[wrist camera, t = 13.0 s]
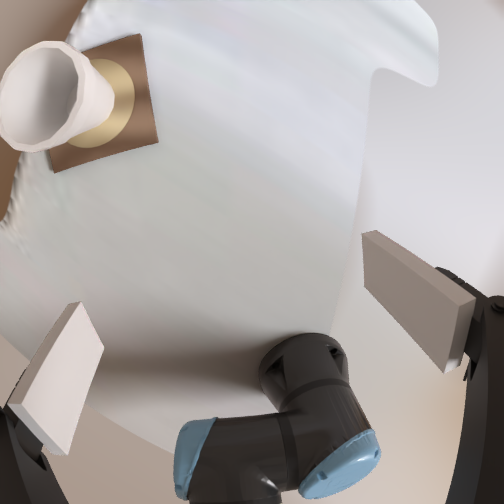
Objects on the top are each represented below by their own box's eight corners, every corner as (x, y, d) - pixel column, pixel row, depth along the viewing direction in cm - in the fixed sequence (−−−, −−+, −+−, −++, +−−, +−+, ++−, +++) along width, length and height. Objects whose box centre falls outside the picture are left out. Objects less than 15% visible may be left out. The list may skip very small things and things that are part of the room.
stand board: (158, 142, 34) (156, 143, 32) (58, 172, 33) (53, 174, 31) (141, 36, 28) (139, 32, 27) (42, 72, 27) (36, 71, 26)
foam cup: (49, 134, 29) (-14, 144, 18) (68, 62, 26) (11, 41, 14) (115, 147, 32) (69, 159, 20) (138, 71, 29) (101, 44, 17)
